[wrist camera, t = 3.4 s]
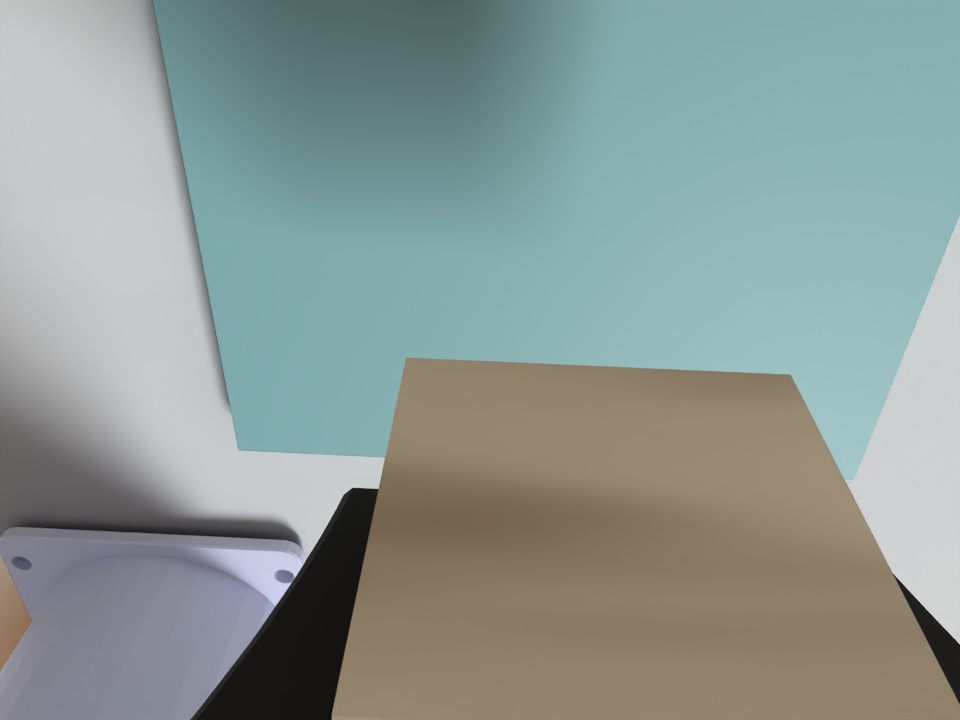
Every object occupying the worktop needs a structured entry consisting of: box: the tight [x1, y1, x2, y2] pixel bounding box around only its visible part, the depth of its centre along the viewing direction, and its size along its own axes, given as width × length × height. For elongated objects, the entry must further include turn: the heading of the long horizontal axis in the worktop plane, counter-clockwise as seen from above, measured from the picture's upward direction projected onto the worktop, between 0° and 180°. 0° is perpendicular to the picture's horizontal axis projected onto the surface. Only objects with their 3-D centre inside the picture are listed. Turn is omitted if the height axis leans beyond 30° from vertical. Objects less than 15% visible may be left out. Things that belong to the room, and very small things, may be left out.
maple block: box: [332, 358, 960, 720], centre depth 9 cm, size 4×4×4 cm
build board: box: [153, 0, 960, 480], centre depth 13 cm, size 19×14×1 cm
